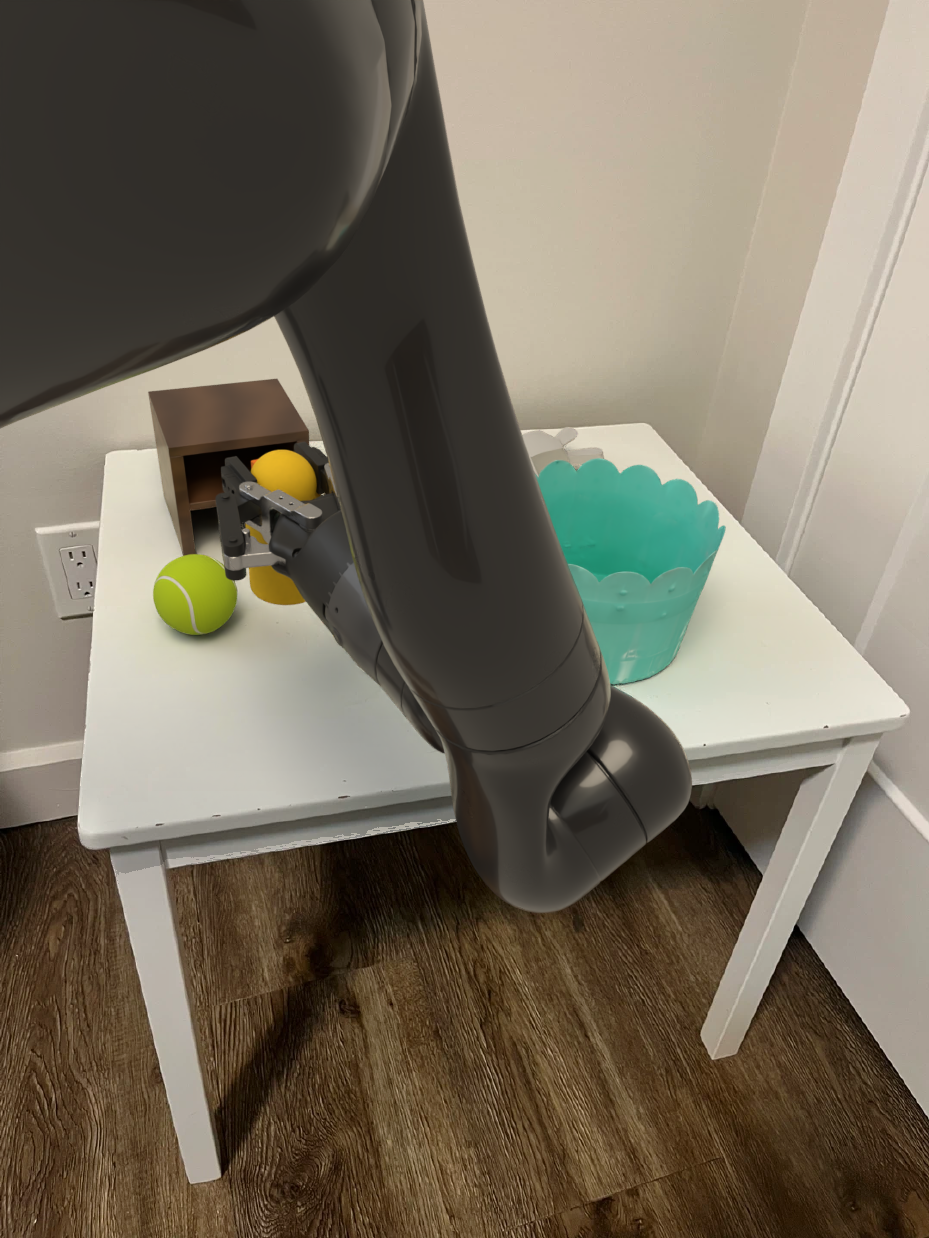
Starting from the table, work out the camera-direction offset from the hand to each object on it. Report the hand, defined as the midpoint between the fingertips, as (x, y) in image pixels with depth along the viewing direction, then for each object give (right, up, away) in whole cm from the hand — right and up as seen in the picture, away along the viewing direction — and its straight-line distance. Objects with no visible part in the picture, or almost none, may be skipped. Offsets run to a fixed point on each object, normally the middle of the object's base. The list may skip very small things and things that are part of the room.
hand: (265, 462), depth 62 cm
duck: (+1, -8, +4) cm, 9 cm away
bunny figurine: (+21, +5, +45) cm, 50 cm away
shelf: (-11, 0, +34) cm, 36 cm away
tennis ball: (-10, -11, +20) cm, 25 cm away
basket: (+25, -11, +24) cm, 37 cm away
